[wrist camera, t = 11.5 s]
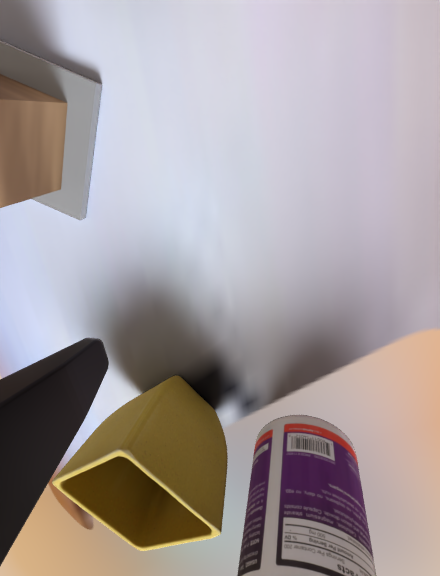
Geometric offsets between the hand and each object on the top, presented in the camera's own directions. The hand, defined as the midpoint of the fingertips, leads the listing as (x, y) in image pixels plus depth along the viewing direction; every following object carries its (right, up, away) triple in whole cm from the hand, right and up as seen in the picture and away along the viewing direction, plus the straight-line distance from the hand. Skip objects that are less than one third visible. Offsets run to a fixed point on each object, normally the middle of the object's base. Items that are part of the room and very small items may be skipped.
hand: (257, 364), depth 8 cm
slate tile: (-12, +11, +11) cm, 20 cm away
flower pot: (-5, -8, +20) cm, 22 cm away
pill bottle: (+6, -11, +19) cm, 23 cm away
